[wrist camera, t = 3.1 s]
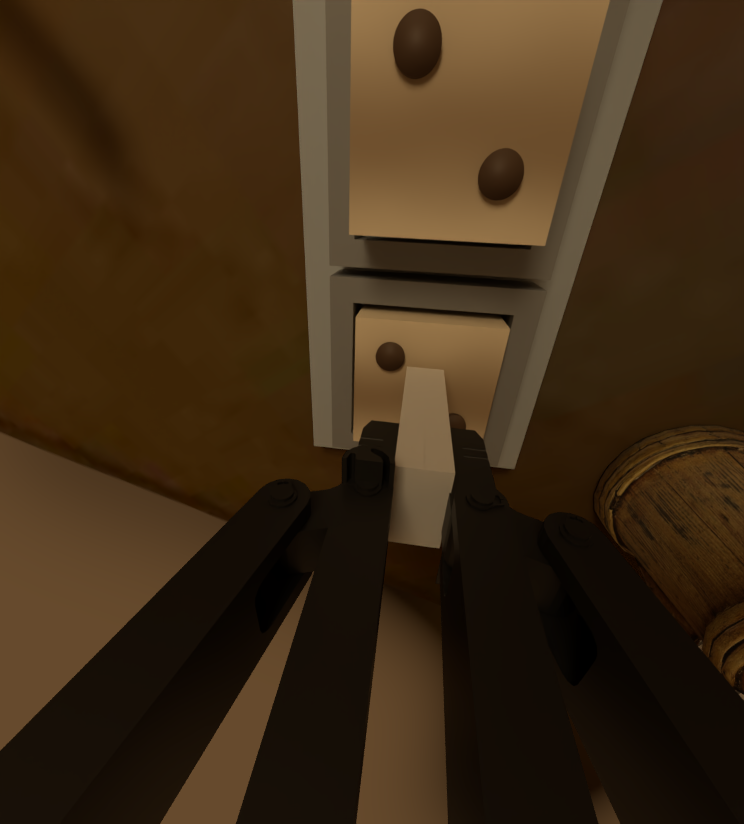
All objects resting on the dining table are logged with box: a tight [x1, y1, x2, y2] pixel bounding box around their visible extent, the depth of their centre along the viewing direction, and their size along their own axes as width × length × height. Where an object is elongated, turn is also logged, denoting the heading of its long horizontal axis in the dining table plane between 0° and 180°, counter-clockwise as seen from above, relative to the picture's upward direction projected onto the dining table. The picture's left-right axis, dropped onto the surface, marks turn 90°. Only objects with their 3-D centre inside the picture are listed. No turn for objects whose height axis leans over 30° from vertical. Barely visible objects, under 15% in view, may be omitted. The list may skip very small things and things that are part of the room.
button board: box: [293, 0, 663, 469], centre depth 13 cm, size 30×12×3 cm, turn 177°
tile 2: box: [349, 0, 610, 246], centre depth 10 cm, size 6×6×3 cm
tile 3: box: [353, 304, 510, 441], centre depth 16 cm, size 6×6×3 cm
